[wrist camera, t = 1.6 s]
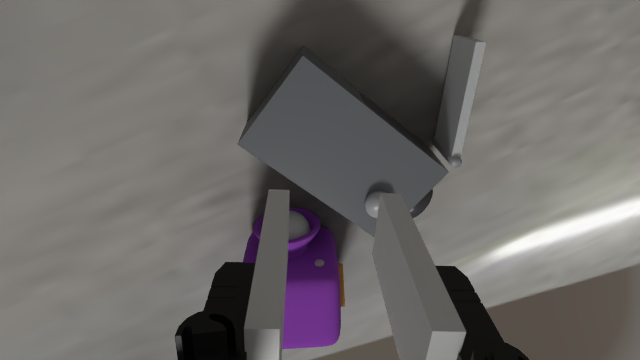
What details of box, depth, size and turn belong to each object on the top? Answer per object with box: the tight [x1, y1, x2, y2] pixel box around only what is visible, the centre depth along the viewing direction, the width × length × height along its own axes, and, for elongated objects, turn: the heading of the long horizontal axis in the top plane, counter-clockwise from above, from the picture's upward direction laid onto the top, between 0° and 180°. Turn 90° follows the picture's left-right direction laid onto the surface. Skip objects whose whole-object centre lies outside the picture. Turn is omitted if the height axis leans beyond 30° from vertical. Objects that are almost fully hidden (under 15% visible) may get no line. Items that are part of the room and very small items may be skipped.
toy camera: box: [243, 207, 345, 349], centre depth 40 cm, size 11×14×10 cm
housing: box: [238, 46, 448, 237], centre depth 36 cm, size 18×9×7 cm, turn 52°
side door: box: [432, 35, 486, 168], centre depth 35 cm, size 10×2×6 cm, turn 177°
